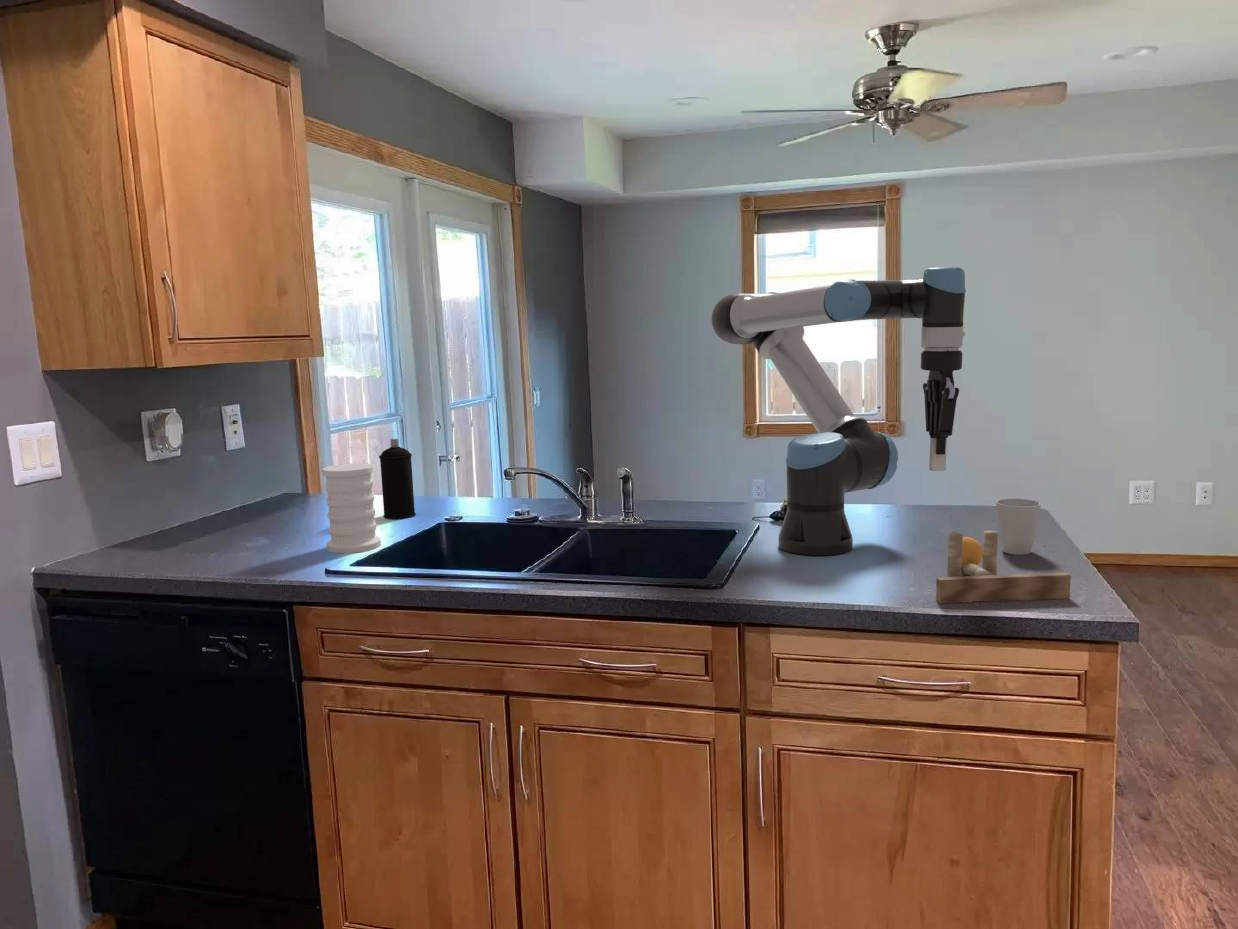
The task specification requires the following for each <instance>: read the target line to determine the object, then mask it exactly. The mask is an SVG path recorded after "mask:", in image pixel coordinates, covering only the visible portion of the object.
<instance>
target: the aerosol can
mask: <svg viewBox="0 0 1238 929" xmlns="http://www.w3.org/2000/svg"><path fill="white" fill-rule="evenodd" d="M389 440H390V447H389V448H386V449H385V450H383V451H382V452H381V454H380V455H379V456H378V458H379V462H380V464H379V465H380V473H381V474H380V477H381V488H382V489H381V491H382V505H383V516H382V517H383V518H384V519H387V520H403V519H405V520H406V519H410V518H413V517H415V516H416V514H417V513H416V512H415V510H416V508H415V496H414V495H415V494H414V481H413V464H412V456H413V454H412V453H410V451H409V450H408V449H406V448H404V447H400V444H399V443H400V442H399V438H390V439H389Z"/></svg>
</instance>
